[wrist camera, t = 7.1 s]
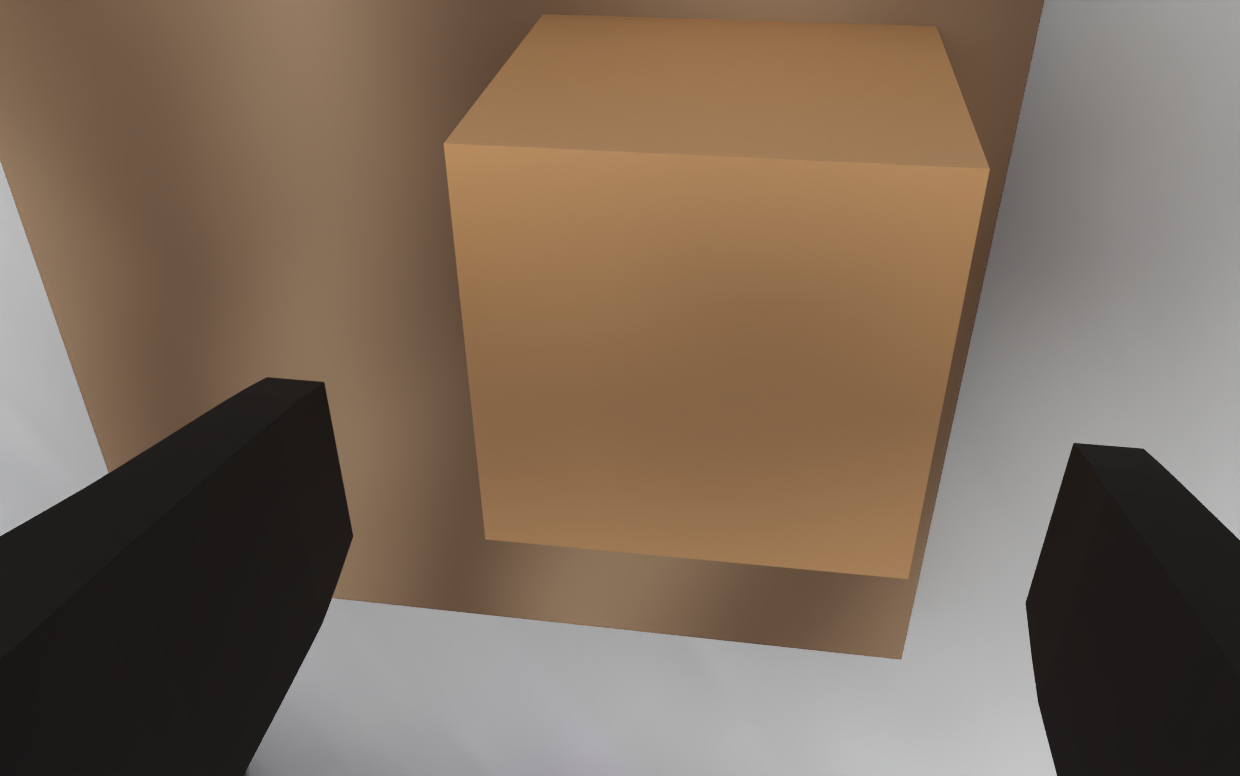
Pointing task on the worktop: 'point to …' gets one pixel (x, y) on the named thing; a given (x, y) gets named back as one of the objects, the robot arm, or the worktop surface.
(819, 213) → the tan shipping carton
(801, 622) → the board
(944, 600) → the worktop surface
